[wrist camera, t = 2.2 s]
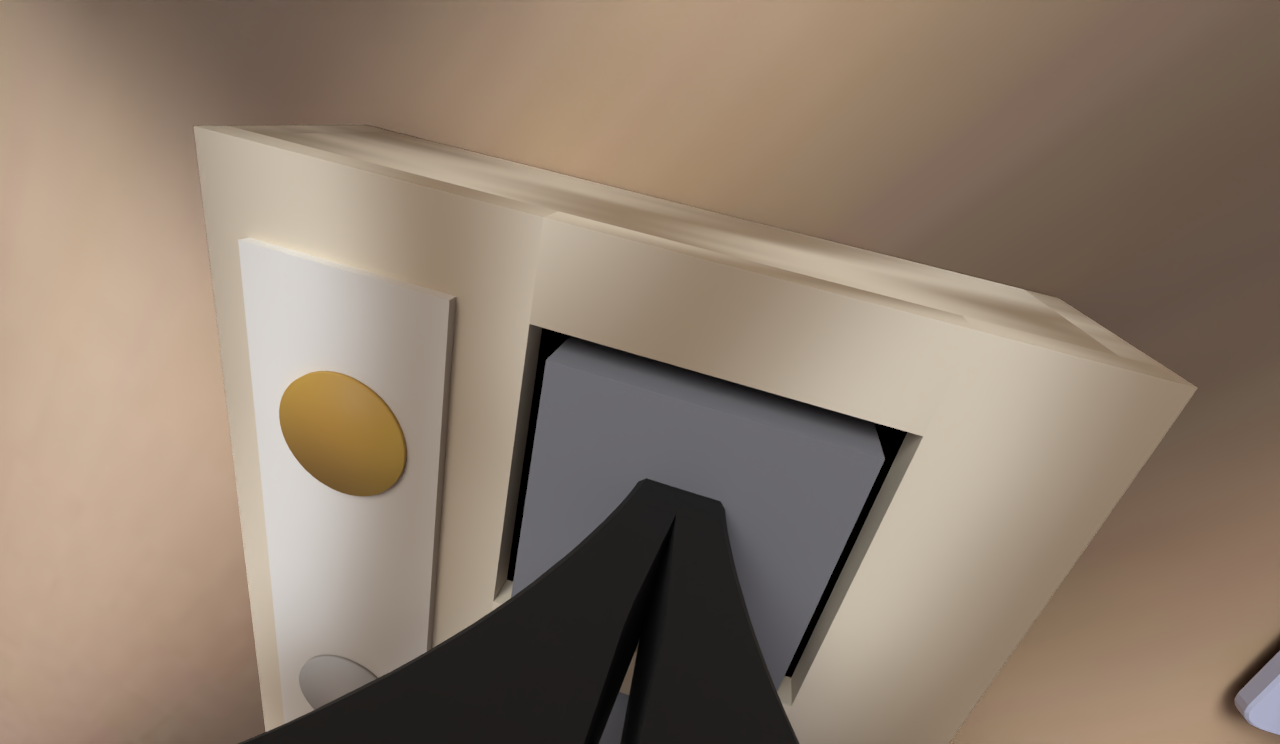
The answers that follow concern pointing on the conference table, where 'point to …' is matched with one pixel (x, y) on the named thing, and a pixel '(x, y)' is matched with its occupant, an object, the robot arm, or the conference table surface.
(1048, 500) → the button box
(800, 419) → the button
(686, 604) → the robot arm
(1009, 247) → the conference table surface
